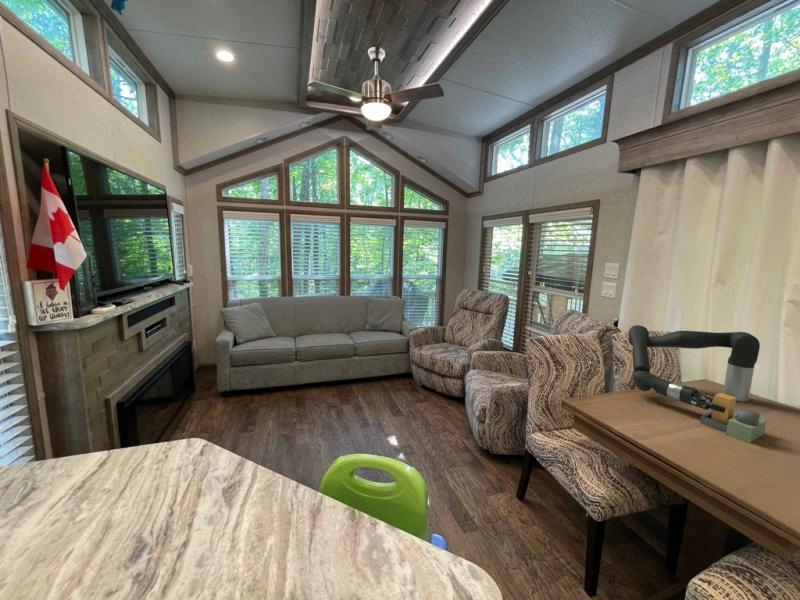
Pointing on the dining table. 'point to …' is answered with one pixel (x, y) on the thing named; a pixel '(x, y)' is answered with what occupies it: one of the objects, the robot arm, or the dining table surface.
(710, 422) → the dark grey tray
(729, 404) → the tall orange pillar
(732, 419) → the mower housing
